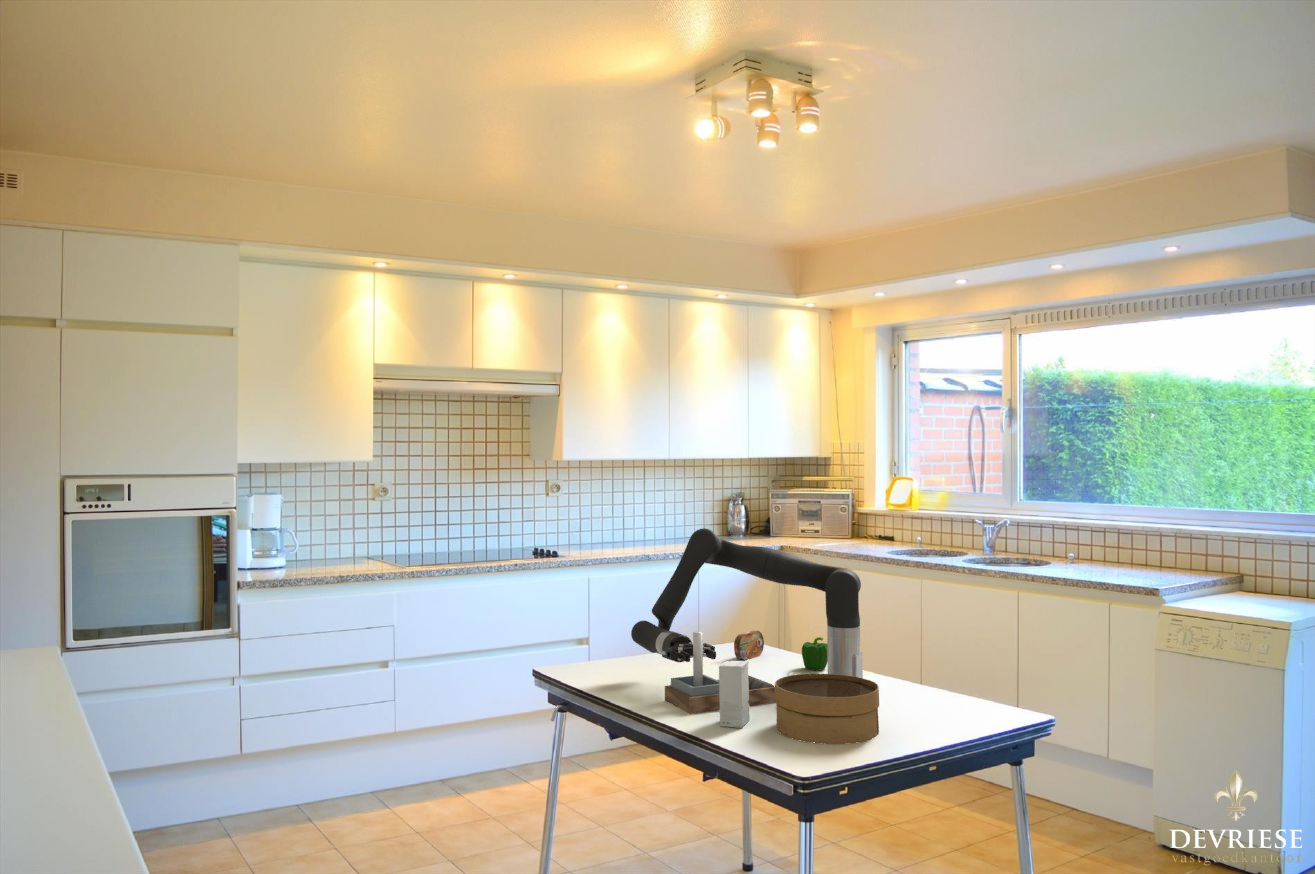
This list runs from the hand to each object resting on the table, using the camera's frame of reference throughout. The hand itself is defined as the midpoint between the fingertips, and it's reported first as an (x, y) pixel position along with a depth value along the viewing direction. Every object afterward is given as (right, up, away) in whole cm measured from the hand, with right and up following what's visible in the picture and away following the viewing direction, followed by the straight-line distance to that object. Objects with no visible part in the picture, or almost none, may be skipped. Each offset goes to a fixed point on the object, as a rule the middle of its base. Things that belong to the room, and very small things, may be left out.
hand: (701, 656), depth 259 cm
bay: (+5, -13, +5) cm, 15 cm away
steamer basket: (+29, -13, -23) cm, 39 cm away
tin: (+18, -15, +62) cm, 67 cm away
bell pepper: (+37, -14, +44) cm, 59 cm away
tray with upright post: (-1, -12, +2) cm, 12 cm away
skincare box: (+7, -13, -17) cm, 22 cm away
